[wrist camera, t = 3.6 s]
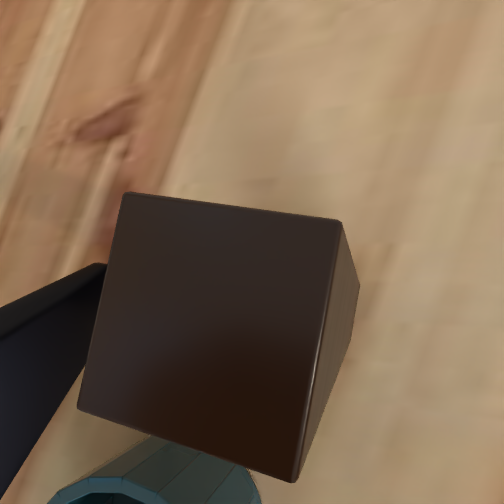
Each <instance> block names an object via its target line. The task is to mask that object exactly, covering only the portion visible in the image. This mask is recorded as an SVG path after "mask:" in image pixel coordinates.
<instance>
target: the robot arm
mask: <svg viewBox="0 0 504 504" xmlns="http://www.w3.org/2000/svg"><path fill="white" fill-rule="evenodd" d="M107 265H108V264H104V263H93V264H91V265H89V266H87V267H85V268H83V269H81V270H78V271H76V272H74V273H72V274H70V275H68V276H66V277H64V278H62V279H60V280H57V281H55V282H53V283H51V284H49V285H47V286H45V287H43V288H41V289H39V290H36V291H34V292H32V293H30V294H28V295H26V296H24V297H22V298H20V299H18V300H15V301H13V302H11V303H9V304H7V305H5V306H3V307H1V308H0V500H1V498H2V496H3V495H4V493H5V492H6V490H7V488H8V487H9V485H10V484H11V482H12V481H13V479H14V477H15V476H16V474H17V473H18V471H19V469H20V468H21V466H22V465H23V463H24V461H25V460H26V458H27V457H28V455H29V453H30V452H31V450H32V449H33V447H34V446H35V444H36V442H37V441H38V439H39V438H40V436H41V434H42V433H43V431H44V430H45V428H46V426H47V425H48V423H49V422H50V420H51V418H52V417H53V415H54V414H55V412H56V410H57V409H58V407H59V406H60V404H61V403H62V401H63V399H64V398H65V396H66V395H67V393H68V391H69V390H70V388H71V387H72V385H73V383H74V382H75V380H76V379H77V377H78V375H79V374H80V372H81V371H82V369H83V367H84V366H85V364H86V361H87V356H88V351H89V347H90V342H91V338H92V333H93V329H94V324H95V320H96V315H97V310H98V306H99V301H100V297H101V292H102V288H103V283H104V279H105V274H106V269H107Z"/></svg>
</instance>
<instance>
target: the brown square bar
mask: <svg viewBox="0 0 504 504" xmlns="http://www.w3.org/2000/svg"><path fill="white" fill-rule="evenodd" d="M359 288H360V283H359V280H358V276H357V273H356V269H355V266H354V263H353V259H352V256H351V252H350V249H349V246H348V242H347V239H346V235H345V232H344V228H343V225H342V222H340V221H339V220H336V219H329V218H321V217H314V216H307V215H299V214H292V213H284V212H277V211H270V210H262V209H255V208H247V207H240V206H233V205H225V204H218V203H210V202H203V201H196V200H188V199H181V198H173V197H166V196H159V195H151V194H144V193H136V192H125V193H124V194H123V196H122V201H121V206H120V210H119V215H118V219H117V224H116V228H115V233H114V237H113V242H112V247H111V251H110V256H109V260H108V265H107V269H106V274H105V279H104V283H103V288H102V292H101V297H100V301H99V306H98V310H97V315H96V320H95V324H94V329H93V333H92V338H91V342H90V347H89V351H88V356H87V361H86V365H85V370H84V374H83V379H82V383H81V388H80V393H79V397H78V402H77V409H78V410H80V411H83V412H86V413H88V414H91V415H94V416H97V417H100V418H103V419H106V420H109V421H112V422H115V423H117V424H120V425H123V426H126V427H129V428H132V429H135V430H138V431H141V432H144V433H146V434H149V435H152V436H155V437H158V438H161V439H164V440H167V441H170V442H173V443H175V444H178V445H181V446H184V447H187V448H190V449H193V450H196V451H199V452H202V453H204V454H207V455H210V456H213V457H216V458H219V459H222V460H225V461H228V462H231V463H233V464H236V465H239V466H242V467H245V468H248V469H251V470H254V471H257V472H260V473H262V474H265V475H268V476H271V477H274V478H277V479H280V480H283V481H286V482H289V483H295V482H296V481H297V479H298V478H299V475H300V473H301V470H302V467H303V465H304V462H305V459H306V457H307V454H308V452H309V449H310V446H311V444H312V441H313V438H314V436H315V433H316V430H317V428H318V425H319V422H320V420H321V417H322V414H323V412H324V409H325V407H326V404H327V401H328V399H329V396H330V393H331V391H332V388H333V385H334V383H335V380H336V377H337V375H338V372H339V369H340V367H341V364H342V362H343V359H344V356H345V354H346V351H347V348H348V346H349V343H350V340H351V334H352V328H353V323H354V317H355V311H356V305H357V299H358V294H359Z"/></svg>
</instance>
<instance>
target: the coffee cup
mask: <svg viewBox="0 0 504 504" xmlns="http://www.w3.org/2000/svg"><path fill="white" fill-rule="evenodd" d="M47 504H262V503H261V500H260V496H259V494H258V491H257V489H256V486H255V484H254V482H253V480H252V479H251V477H250V475H249V473H248V472H247V470H246V469H245V467H242V466H239V465H236V464H233V463H231V462H228V461H225V460H222V459H219V458H216V457H213V456H210V455H207V454H204V453H202V452H199V451H196V450H193V449H190V448H187V447H184V446H181V445H178V444H175V443H173V442H170V441H167V440H164V439H161V438H158V437H155V436H152V435H151V436H148V437H147V438H145V439H143V440H142V441H139V442H137V443H135V444H133V445H132V446H130V447H128V448H127V449H125V450H124V451H122V452H120V453H119V454H117V455H115V456H114V457H112V458H111V459H109V460H107V461H106V462H104V463H102V464H101V465H99V466H98V467H96V468H94V469H93V470H91V471H89V472H88V473H86V474H85V475H83V476H81V477H80V478H78V479H76V480H75V481H73V482H72V483H70V484H68V485H67V486H65V487H63V488H62V489H60V490H59V491H58V492H57V493H56V494H55V495H54V496H53V497H52V498H51V499H50V500H49V502H48V503H47Z"/></svg>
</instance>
